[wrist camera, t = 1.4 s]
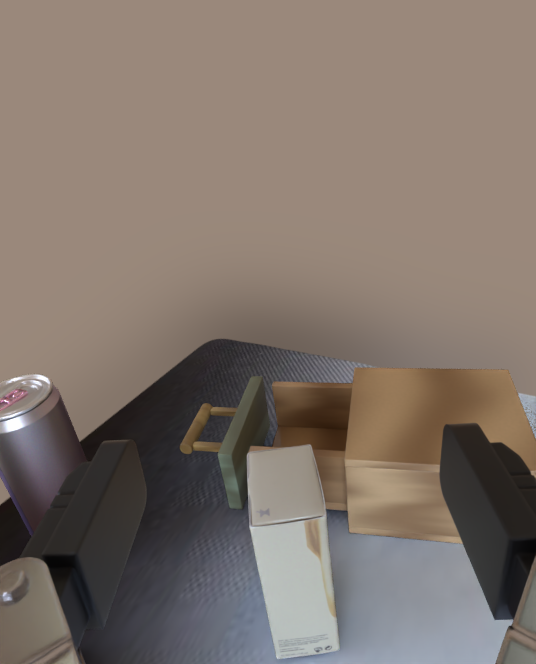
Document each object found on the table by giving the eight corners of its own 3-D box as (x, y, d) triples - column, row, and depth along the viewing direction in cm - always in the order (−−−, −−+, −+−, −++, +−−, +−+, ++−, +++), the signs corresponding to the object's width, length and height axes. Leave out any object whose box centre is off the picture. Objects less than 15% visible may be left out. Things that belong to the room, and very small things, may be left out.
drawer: (178, 503, 42) (162, 450, 39) (216, 422, 52) (206, 375, 49) (376, 522, 38) (375, 464, 35) (379, 430, 47) (378, 378, 45)
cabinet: (348, 533, 38) (344, 459, 35) (357, 431, 49) (354, 367, 45) (532, 551, 35) (548, 471, 31) (499, 438, 46) (508, 369, 42)
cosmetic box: (342, 653, 31) (330, 521, 25) (275, 662, 31) (248, 532, 25) (325, 563, 36) (312, 440, 31) (268, 571, 36) (245, 449, 31)
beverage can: (25, 551, 41) (-52, 411, 34) (77, 499, 45) (19, 367, 38) (74, 574, 38) (3, 428, 31) (124, 517, 43) (71, 378, 36)
